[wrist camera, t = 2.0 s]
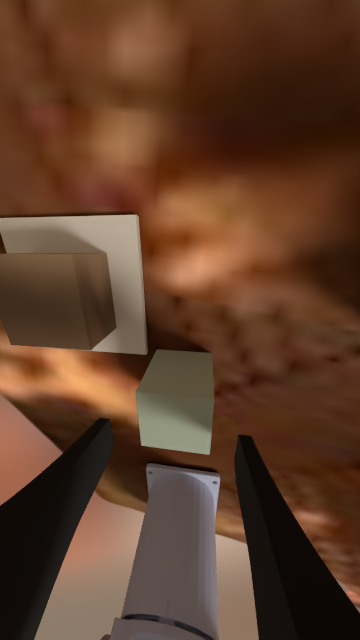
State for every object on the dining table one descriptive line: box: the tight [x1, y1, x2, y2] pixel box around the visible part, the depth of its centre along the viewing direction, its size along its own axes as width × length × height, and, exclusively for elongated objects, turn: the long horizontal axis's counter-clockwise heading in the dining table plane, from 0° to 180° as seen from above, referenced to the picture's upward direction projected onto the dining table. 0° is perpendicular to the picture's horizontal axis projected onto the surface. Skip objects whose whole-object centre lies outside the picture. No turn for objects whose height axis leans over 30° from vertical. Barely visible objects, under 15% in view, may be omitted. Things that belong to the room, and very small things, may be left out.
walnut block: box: [0, 253, 117, 350], centre depth 12 cm, size 6×6×4 cm
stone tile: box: [0, 215, 148, 355], centre depth 14 cm, size 10×10×1 cm
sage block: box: [136, 349, 214, 455], centre depth 13 cm, size 4×4×5 cm
